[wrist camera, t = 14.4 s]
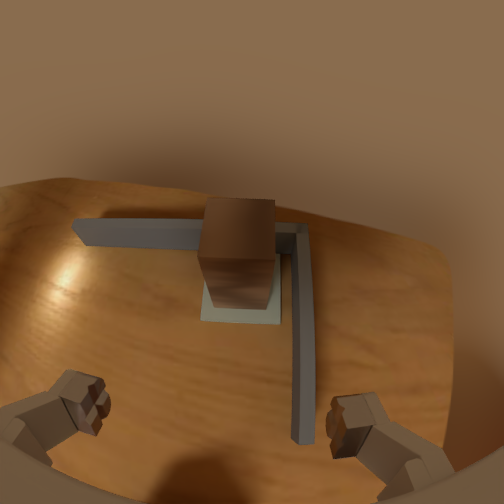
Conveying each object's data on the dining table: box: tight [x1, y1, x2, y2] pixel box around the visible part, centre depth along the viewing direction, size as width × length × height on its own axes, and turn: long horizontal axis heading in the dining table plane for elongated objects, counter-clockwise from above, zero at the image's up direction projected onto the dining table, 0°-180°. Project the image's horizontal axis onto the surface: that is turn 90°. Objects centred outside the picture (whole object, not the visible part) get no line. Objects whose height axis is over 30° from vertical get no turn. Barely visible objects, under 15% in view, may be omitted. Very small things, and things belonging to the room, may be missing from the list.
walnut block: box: [197, 198, 276, 310], centre depth 23 cm, size 5×5×10 cm
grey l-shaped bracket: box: [71, 218, 315, 445], centre depth 24 cm, size 26×20×4 cm
